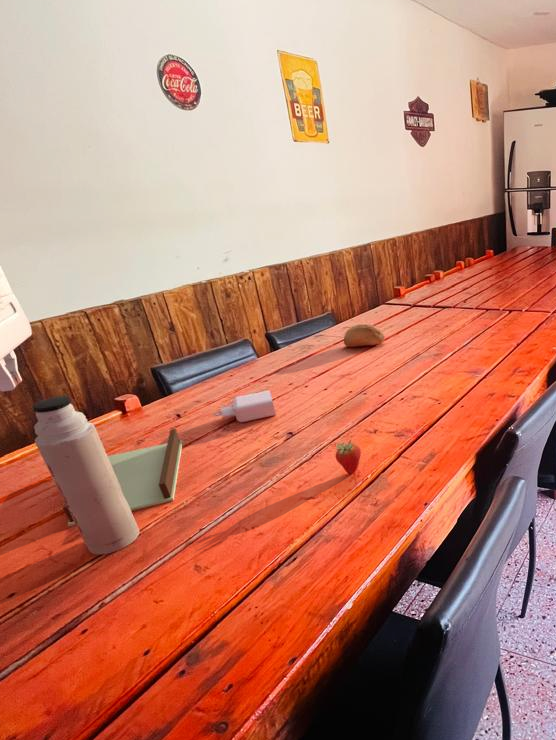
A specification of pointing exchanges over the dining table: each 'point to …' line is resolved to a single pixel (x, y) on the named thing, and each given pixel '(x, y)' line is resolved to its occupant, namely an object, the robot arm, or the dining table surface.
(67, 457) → the thermos bottle
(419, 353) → the dining table surface
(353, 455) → the fruit
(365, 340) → the bread roll
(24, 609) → the dining table surface
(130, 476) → the tray
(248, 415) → the white nozzle bottle
